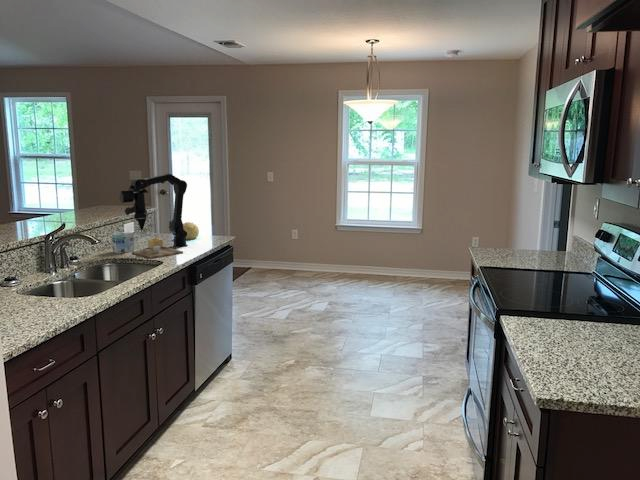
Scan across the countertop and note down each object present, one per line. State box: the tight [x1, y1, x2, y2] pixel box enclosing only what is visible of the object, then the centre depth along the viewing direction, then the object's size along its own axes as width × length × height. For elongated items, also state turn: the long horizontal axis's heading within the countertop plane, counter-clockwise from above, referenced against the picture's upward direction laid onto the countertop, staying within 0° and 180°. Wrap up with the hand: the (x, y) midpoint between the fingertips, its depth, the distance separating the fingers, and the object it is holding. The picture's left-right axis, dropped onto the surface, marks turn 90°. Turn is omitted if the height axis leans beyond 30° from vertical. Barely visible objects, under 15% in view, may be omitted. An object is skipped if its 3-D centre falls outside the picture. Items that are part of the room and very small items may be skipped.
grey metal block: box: [153, 246, 161, 254], centre depth 283 cm, size 3×3×4 cm
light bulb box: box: [111, 231, 136, 254], centre depth 290 cm, size 11×7×11 cm, turn 129°
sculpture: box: [182, 221, 200, 240], centre depth 331 cm, size 12×12×11 cm
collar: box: [147, 237, 164, 249], centre depth 301 cm, size 6×6×5 cm
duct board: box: [131, 246, 184, 260], centre depth 287 cm, size 20×20×1 cm
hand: (142, 228), depth 290 cm, fingers open, 9 cm apart
